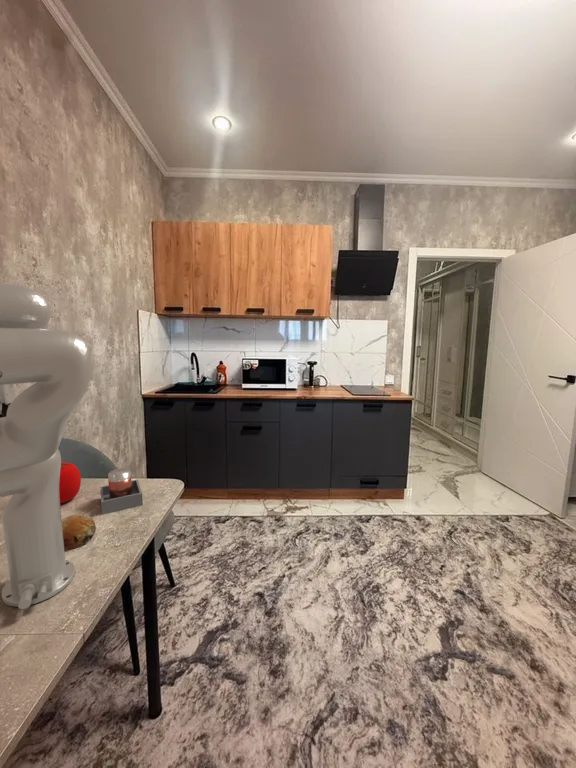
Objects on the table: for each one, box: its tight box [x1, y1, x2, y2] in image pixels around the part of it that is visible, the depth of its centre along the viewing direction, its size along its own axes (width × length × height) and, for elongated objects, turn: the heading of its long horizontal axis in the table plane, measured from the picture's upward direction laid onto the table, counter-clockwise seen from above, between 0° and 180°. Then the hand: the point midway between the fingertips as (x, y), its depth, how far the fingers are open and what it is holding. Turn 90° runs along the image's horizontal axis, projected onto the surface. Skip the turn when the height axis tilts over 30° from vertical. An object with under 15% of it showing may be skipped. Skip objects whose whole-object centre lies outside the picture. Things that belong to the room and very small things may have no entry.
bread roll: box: [61, 513, 97, 551], centre depth 86 cm, size 10×10×8 cm
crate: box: [99, 479, 144, 515], centre depth 105 cm, size 11×11×4 cm
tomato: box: [59, 462, 82, 504], centre depth 105 cm, size 12×12×13 cm
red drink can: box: [107, 467, 133, 499], centre depth 105 cm, size 6×6×9 cm
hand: (1, 425), depth 83 cm, fingers open, 9 cm apart
